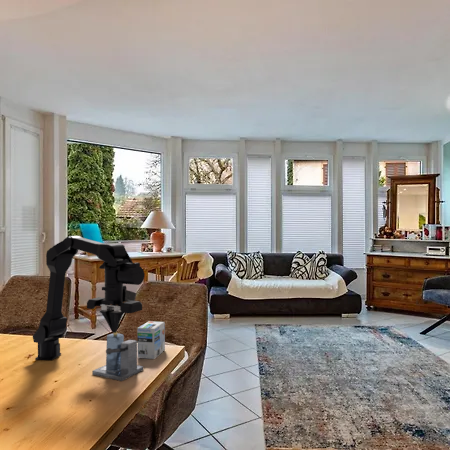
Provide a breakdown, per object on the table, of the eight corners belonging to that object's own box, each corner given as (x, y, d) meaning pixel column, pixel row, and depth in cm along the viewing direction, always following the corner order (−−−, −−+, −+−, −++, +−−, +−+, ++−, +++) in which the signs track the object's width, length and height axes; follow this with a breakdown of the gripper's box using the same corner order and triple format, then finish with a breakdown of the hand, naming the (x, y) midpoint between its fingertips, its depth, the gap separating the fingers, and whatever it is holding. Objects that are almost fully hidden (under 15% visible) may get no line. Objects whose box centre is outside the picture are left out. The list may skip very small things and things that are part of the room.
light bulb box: (154, 359, 135) (154, 328, 135) (136, 358, 136) (136, 327, 136) (165, 350, 146) (165, 321, 146) (148, 349, 147) (148, 320, 147)
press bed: (81, 379, 117) (80, 344, 117) (115, 364, 130) (114, 332, 130) (110, 386, 112) (110, 349, 112) (143, 370, 125) (143, 337, 125)
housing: (107, 371, 120) (108, 335, 120) (104, 365, 125) (105, 330, 125) (124, 368, 123) (125, 333, 123) (120, 363, 127) (121, 329, 127)
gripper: (153, 281, 127) (153, 329, 127) (110, 278, 136) (110, 323, 135) (129, 286, 117) (130, 337, 117) (85, 282, 126) (85, 330, 125)
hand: (114, 331), depth 124 cm, fingers closed
